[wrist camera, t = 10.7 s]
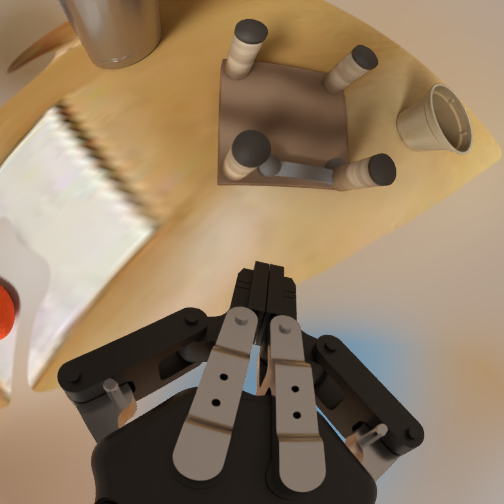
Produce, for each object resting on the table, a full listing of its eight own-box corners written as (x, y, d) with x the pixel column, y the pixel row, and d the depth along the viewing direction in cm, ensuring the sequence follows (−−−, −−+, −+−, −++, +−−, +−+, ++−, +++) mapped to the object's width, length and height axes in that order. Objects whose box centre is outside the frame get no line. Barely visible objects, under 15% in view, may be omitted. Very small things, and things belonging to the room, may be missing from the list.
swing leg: (256, 180, 25) (281, 165, 18) (258, 152, 25) (283, 129, 18) (350, 193, 28) (396, 188, 20) (351, 169, 27) (396, 157, 20)
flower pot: (422, 104, 32) (461, 90, 23) (436, 161, 33) (478, 155, 25) (380, 98, 30) (421, 77, 22) (396, 163, 32) (443, 153, 23)
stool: (220, 67, 26) (234, 16, 16) (335, 83, 28) (377, 50, 19) (217, 187, 27) (230, 170, 18) (342, 191, 30) (396, 184, 21)
